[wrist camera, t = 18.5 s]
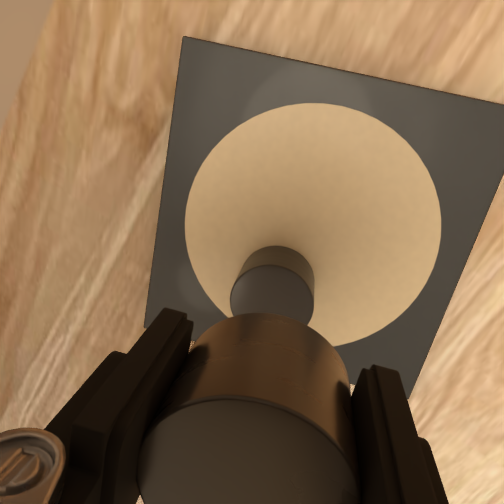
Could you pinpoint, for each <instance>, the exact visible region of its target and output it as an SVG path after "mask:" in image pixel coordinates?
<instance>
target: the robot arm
mask: <svg viewBox="0 0 504 504" xmlns="http://www.w3.org/2000/svg"><path fill="white" fill-rule="evenodd" d="M193 326H194V322H193V321H191V320H187V313H185V312H181V311H177V310H174V309H170V308H166V307H164V308H163V309H162V310H161V312H160V313H159V314H158V315H157V317H156V318H155V319H154V321H153V322H152V323H151V324H150V326H149V327H148V328H147V329H146V331H145V332H144V333H143V334H142V336H141V337H140V338H139V339H138V341H137V342H136V343H135V344H134V346H133V347H132V348H131V350H130V351H129V352H128V353H127V354H125V353H121V352H118V351H113V352H111V353H110V354H109V355H108V356H107V357H106V358H105V360H104V361H103V362H102V363H101V364H100V365H99V366H98V368H97V369H96V370H95V371H94V372H93V373H92V375H91V376H90V377H89V378H88V379H87V380H86V381H85V383H84V384H83V385H82V386H81V387H80V388H79V390H78V391H77V392H76V393H75V394H74V395H73V397H72V398H71V399H70V400H69V401H68V402H67V403H66V405H65V406H64V407H63V408H62V409H61V410H60V412H59V413H58V414H57V415H56V416H55V417H54V418H53V420H52V421H51V422H50V423H49V424H48V425H47V427H46V428H45V429H44V430H42V429H38V428H18V429H13V430H8V431H5V432H2V433H0V504H136V502H137V500H138V498H139V495H140V493H139V489H138V485H137V480H136V470H137V463H138V457H139V451H140V445H141V442H142V439H143V436H144V435H145V433H146V431H147V429H148V427H149V425H150V424H151V422H152V420H153V418H154V416H155V414H156V412H157V411H158V409H159V407H160V405H161V403H162V401H163V400H164V398H165V396H166V394H167V392H168V390H169V388H170V387H171V385H172V383H173V381H174V379H175V377H176V376H177V374H178V372H179V370H180V368H181V366H182V365H183V363H184V361H185V359H186V357H187V355H188V353H189V347H190V342H191V337H192V331H193ZM351 401H352V411H353V420H354V429H355V439H356V448H357V457H358V467H359V476H360V485H361V504H449V503H448V500H447V497H446V494H445V490H444V487H443V484H442V481H441V478H440V475H439V472H438V469H437V466H436V463H435V460H434V457H433V454H432V451H431V447H430V445H429V443H428V441H426V440H425V439H424V438H421V437H418V434H417V431H416V428H415V424H414V421H413V418H412V414H411V411H410V407H409V404H408V401H407V397H406V394H405V391H404V387H403V384H402V381H401V377H400V374H399V372H398V371H397V370H393V369H390V368H386V367H382V366H379V365H375V364H373V365H372V366H371V367H370V369H366V368H363V369H362V370H361V372H360V374H359V377H358V380H357V383H356V385H355V388H354V391H353V393H352V396H351Z"/></svg>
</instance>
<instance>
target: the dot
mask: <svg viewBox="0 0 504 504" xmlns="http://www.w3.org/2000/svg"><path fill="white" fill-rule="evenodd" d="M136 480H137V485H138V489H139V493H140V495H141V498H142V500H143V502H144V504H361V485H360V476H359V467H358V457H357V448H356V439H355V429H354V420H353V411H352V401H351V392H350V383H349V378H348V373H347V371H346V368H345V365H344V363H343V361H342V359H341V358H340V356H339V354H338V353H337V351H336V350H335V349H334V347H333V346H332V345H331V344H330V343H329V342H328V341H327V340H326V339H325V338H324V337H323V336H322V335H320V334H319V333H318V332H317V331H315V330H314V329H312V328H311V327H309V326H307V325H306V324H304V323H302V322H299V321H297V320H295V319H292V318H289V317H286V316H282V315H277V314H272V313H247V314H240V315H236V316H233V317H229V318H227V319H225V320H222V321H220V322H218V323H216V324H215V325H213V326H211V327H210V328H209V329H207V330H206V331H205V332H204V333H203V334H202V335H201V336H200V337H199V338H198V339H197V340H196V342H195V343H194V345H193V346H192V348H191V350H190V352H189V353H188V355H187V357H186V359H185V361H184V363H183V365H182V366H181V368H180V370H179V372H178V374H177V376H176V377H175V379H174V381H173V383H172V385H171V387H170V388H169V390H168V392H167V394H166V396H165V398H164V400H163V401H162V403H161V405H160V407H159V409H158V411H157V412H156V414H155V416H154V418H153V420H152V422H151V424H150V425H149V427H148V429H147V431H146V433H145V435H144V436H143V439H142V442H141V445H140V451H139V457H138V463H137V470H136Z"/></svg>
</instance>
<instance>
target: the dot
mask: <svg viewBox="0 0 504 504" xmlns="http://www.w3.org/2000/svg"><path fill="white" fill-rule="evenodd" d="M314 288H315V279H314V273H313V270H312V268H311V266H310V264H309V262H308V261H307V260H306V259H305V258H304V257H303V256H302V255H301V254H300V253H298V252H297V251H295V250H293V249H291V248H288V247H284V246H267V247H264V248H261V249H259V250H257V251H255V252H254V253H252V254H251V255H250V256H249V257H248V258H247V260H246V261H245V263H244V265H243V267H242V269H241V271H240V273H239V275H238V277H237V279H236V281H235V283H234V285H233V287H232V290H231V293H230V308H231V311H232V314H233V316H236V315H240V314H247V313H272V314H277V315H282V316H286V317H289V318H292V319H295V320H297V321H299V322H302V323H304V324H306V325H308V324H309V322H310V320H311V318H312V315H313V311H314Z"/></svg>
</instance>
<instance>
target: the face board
mask: <svg viewBox="0 0 504 504" xmlns="http://www.w3.org/2000/svg"><path fill="white" fill-rule="evenodd" d="M503 174H504V105H503V104H499V103H494V102H489V101H485V100H480V99H475V98H471V97H466V96H461V95H457V94H452V93H447V92H443V91H438V90H433V89H429V88H424V87H420V86H415V85H410V84H406V83H401V82H396V81H392V80H387V79H382V78H378V77H373V76H368V75H364V74H359V73H354V72H350V71H345V70H340V69H336V68H331V67H327V66H322V65H317V64H313V63H308V62H303V61H299V60H294V59H289V58H285V57H280V56H275V55H271V54H266V53H261V52H257V51H252V50H248V49H243V48H238V47H234V46H229V45H224V44H220V43H215V42H210V41H206V40H201V39H196V38H192V37H187V36H183V38H182V46H181V53H180V61H179V68H178V75H177V83H176V90H175V98H174V105H173V113H172V120H171V127H170V135H169V142H168V150H167V157H166V165H165V172H164V180H163V187H162V194H161V202H160V209H159V217H158V224H157V232H156V239H155V246H154V254H153V261H152V269H151V276H150V284H149V291H148V299H147V306H146V313H145V321H144V328H148V327H149V326H150V324H151V323H152V322H153V321H154V319H155V318H156V317H157V315H158V314H159V313H160V312H161V310H162V309H163V308H164V307H166V308H170V309H174V310H177V311H181V312H185V313H187V320H191V321H193V322H194V326H193V331H192V337H191V341H195V342H196V340H197V339H198V338H199V337H200V336H201V335H202V334H203V333H204V332H205V331H206V330H207V329H209V328H210V327H211V326H213V325H215V324H216V323H218V322H220V321H222V320H225V319H227V318H229V317H233V314H232V311H231V308H230V293H231V290H232V287H233V285H234V283H235V281H236V279H237V277H238V275H239V273H240V271H241V269H242V267H243V265H244V263H245V261H246V260H247V258H248V257H249V256H250V255H251V254H252V253H254V252H255V251H257V250H259V249H261V248H264V247H267V246H284V247H288V248H291V249H293V250H295V251H297V252H298V253H300V254H301V255H302V256H303V257H304V258H305V259H306V260H307V261H308V262H309V264H310V266H311V268H312V270H313V273H314V279H315V288H314V311H313V315H312V318H311V320H310V322H309V324H308V325H307V326H309V327H311V328H312V329H314V330H315V331H317V332H318V333H319V334H320V335H322V336H323V337H324V338H325V339H326V340H327V341H328V342H329V343H330V344H331V345H332V346H333V347H334V349H335V350H336V351H337V353H338V354H339V356H340V358H341V359H342V361H343V363H344V365H345V368H346V371H347V373H348V378H349V383H350V384H353V385H356V383H357V380H358V377H359V374H360V372H361V370H362V369H363V368H366V369H370V367H371V366H372V365H373V364H375V365H379V366H382V367H386V368H390V369H393V370H397V371H398V372H399V374H400V377H401V381H402V384H403V387H404V391H405V394H406V397H407V399H409V397H410V395H411V392H412V390H413V388H414V385H415V383H416V380H417V378H418V376H419V373H420V371H421V369H422V366H423V364H424V362H425V359H426V357H427V354H428V352H429V350H430V347H431V345H432V343H433V340H434V338H435V335H436V333H437V331H438V328H439V326H440V324H441V321H442V319H443V316H444V314H445V312H446V309H447V307H448V305H449V302H450V300H451V297H452V295H453V293H454V290H455V288H456V286H457V283H458V281H459V279H460V276H461V274H462V271H463V269H464V267H465V264H466V262H467V260H468V257H469V255H470V252H471V250H472V248H473V245H474V243H475V241H476V238H477V236H478V233H479V231H480V229H481V226H482V224H483V222H484V219H485V217H486V215H487V212H488V210H489V207H490V205H491V203H492V200H493V198H494V196H495V193H496V191H497V188H498V186H499V184H500V181H501V179H502V177H503Z"/></svg>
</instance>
